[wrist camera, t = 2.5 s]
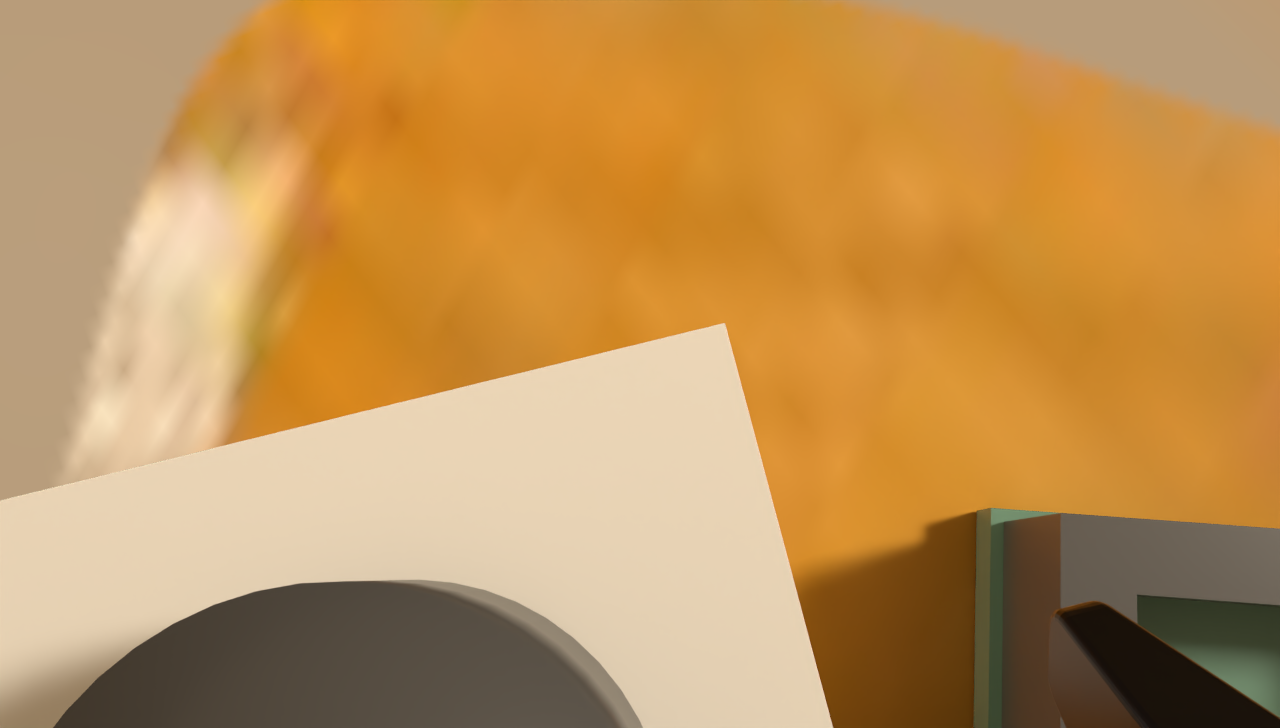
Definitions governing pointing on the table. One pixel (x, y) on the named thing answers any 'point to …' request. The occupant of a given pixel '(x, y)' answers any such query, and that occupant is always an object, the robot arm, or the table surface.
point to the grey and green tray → (1120, 600)
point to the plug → (428, 568)
